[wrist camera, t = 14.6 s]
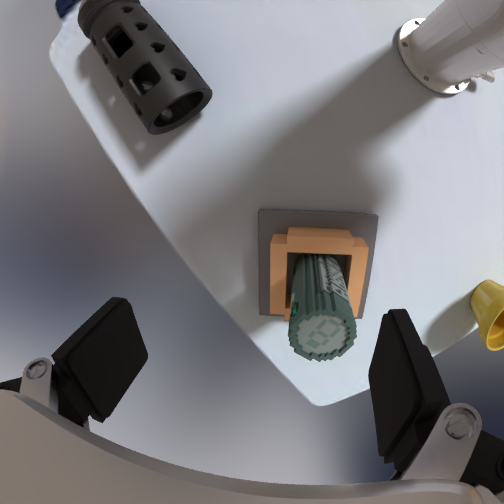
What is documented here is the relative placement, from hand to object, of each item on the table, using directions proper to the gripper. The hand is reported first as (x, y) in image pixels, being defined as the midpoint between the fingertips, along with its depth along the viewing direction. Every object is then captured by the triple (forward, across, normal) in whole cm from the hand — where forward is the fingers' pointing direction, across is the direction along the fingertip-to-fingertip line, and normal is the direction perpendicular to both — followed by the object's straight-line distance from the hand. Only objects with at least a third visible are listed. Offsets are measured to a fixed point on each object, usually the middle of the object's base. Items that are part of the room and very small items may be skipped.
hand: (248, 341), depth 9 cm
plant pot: (+29, -36, +17) cm, 49 cm away
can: (+28, -4, +10) cm, 29 cm away
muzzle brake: (+29, +19, -24) cm, 42 cm away
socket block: (+28, -3, +10) cm, 30 cm away
